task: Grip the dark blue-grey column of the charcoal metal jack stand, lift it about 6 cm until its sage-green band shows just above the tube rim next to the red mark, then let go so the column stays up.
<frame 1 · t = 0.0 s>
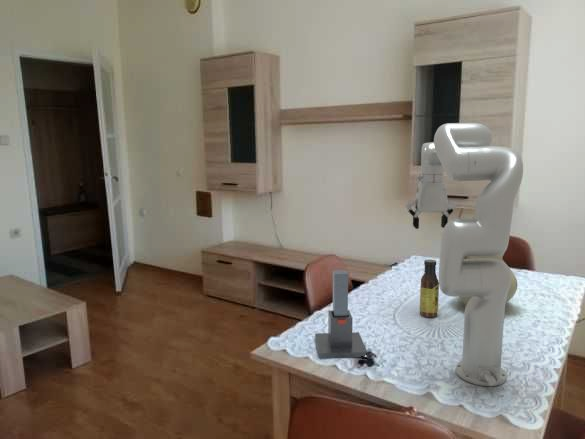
hand: (430, 227, 164), 31 cm above the table, tool pointing down, fingers open, 9 cm apart
sauce bottle: (428, 315, 167), on the table
pitcher: (480, 307, 174), on the table
jack base: (339, 347, 142), on the table
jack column: (340, 307, 140), point 13 cm above the table, slide at 0.0 cm
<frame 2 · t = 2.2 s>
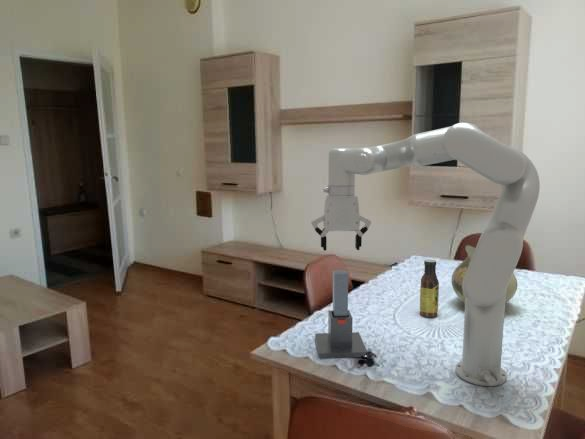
hand: (341, 249, 137), 30 cm above the table, tool pointing down, fingers open, 9 cm apart
nothing on the table moved.
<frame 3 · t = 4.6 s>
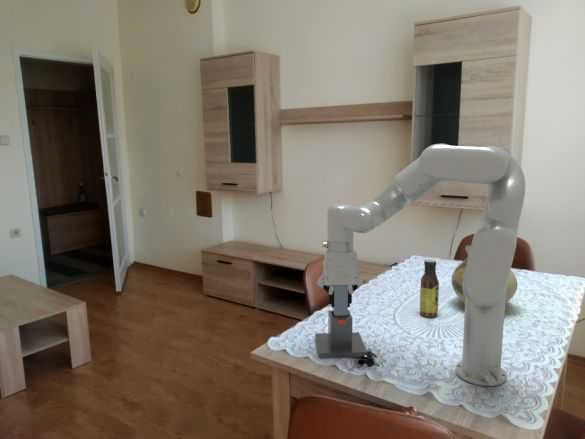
hand: (340, 305, 140), 13 cm above the table, tool pointing down, fingers closed on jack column, 4 cm apart
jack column: (340, 307, 140), point 13 cm above the table, slide at 0.0 cm, touching gripper
everything else where it was.
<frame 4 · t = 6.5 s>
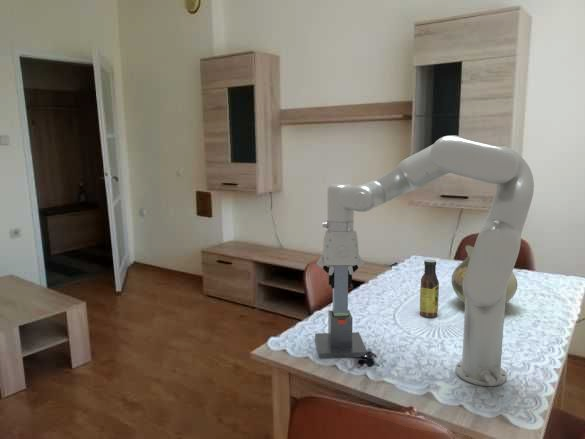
hand: (340, 286, 139), 19 cm above the table, tool pointing down, fingers closed on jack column, 4 cm apart
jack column: (340, 288, 139), point 19 cm above the table, slide at 5.9 cm, touching gripper
everything else where it was.
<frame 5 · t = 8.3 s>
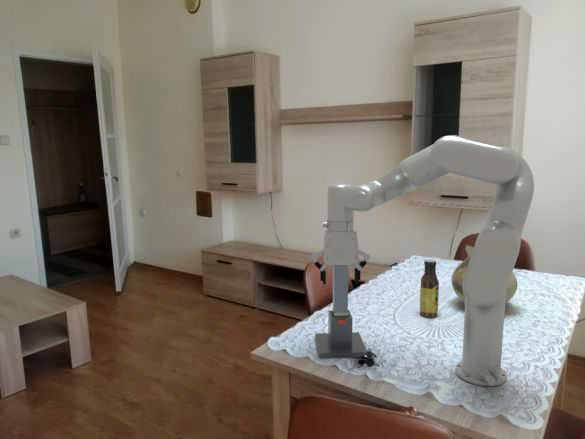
hand: (340, 282, 139), 20 cm above the table, tool pointing down, fingers open, 9 cm apart
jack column: (340, 288, 139), point 19 cm above the table, slide at 5.9 cm
everything else where it was.
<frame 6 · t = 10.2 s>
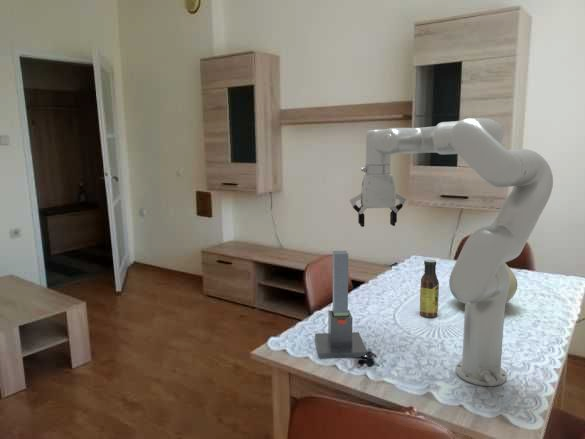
hand: (377, 225, 146), 36 cm above the table, tool pointing down, fingers open, 9 cm apart
nothing on the table moved.
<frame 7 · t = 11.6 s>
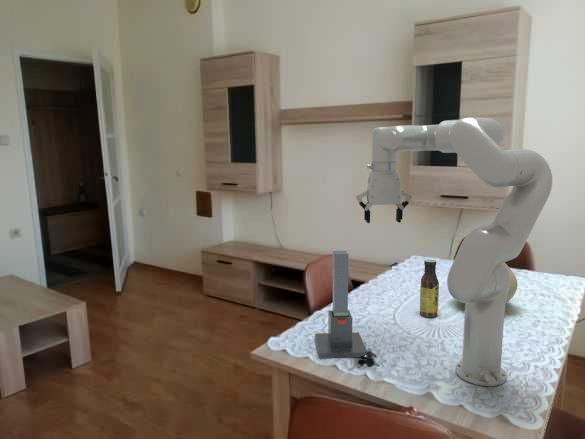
hand: (383, 222, 147), 36 cm above the table, tool pointing down, fingers open, 9 cm apart
nothing on the table moved.
at the end: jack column slide at 5.9 cm; the gripper is holding nothing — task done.
